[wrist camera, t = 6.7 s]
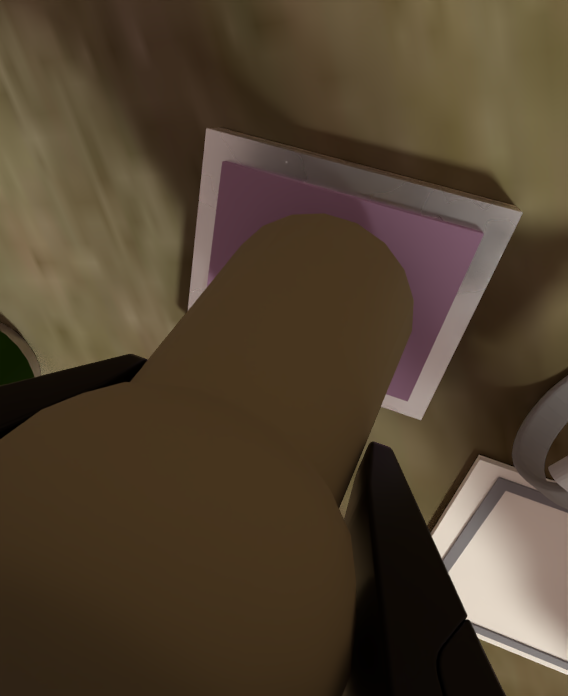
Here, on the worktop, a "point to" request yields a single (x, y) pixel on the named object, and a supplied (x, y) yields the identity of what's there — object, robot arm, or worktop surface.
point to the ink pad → (373, 215)
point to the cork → (208, 487)
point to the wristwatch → (544, 444)
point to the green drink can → (16, 358)
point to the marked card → (509, 561)
